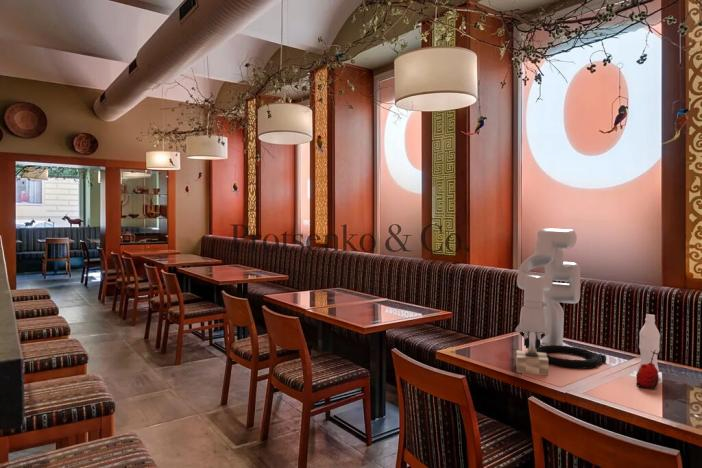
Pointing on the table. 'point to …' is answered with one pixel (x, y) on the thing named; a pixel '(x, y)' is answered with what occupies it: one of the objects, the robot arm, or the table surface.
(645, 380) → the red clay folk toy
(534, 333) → the peg
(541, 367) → the cream rectangular block
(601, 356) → the cable lock
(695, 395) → the table surface
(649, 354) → the water bottle
